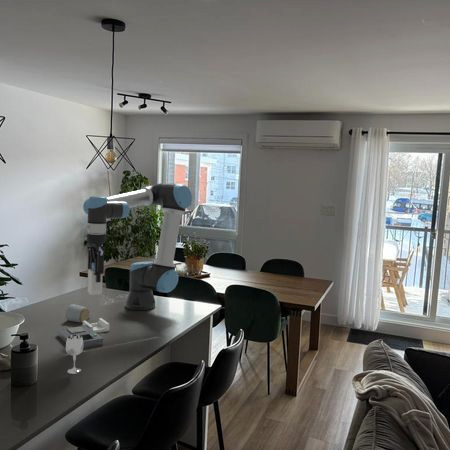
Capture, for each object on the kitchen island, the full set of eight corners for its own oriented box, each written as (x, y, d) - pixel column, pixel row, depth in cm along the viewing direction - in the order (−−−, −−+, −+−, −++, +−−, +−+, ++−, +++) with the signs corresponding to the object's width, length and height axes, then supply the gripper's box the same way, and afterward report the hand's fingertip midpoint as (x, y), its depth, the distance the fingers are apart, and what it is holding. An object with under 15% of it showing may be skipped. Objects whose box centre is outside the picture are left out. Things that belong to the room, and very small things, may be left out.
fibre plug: (97, 291, 194) (98, 261, 192) (101, 293, 190) (102, 263, 189) (87, 292, 191) (88, 262, 190) (91, 295, 187) (92, 264, 186)
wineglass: (67, 367, 156) (68, 333, 155) (84, 367, 157) (85, 334, 156) (63, 374, 151) (63, 339, 149) (80, 374, 151) (81, 340, 150)
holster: (101, 325, 200) (101, 318, 200) (109, 332, 193) (109, 323, 193) (82, 328, 195) (82, 320, 195) (90, 335, 188) (90, 326, 188)
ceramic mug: (80, 325, 200) (81, 308, 199) (64, 322, 202) (65, 306, 201) (94, 319, 210) (95, 303, 209) (79, 316, 212) (80, 300, 211)
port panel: (86, 332, 192) (86, 324, 191) (102, 345, 177) (103, 337, 177) (57, 336, 185) (57, 328, 184) (72, 351, 170) (72, 342, 170)
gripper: (80, 231, 193) (79, 284, 195) (95, 236, 179) (93, 293, 181) (97, 230, 197) (96, 283, 200) (113, 235, 183) (111, 292, 185)
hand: (94, 288), depth 190 cm, fingers closed on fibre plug, 4 cm apart
